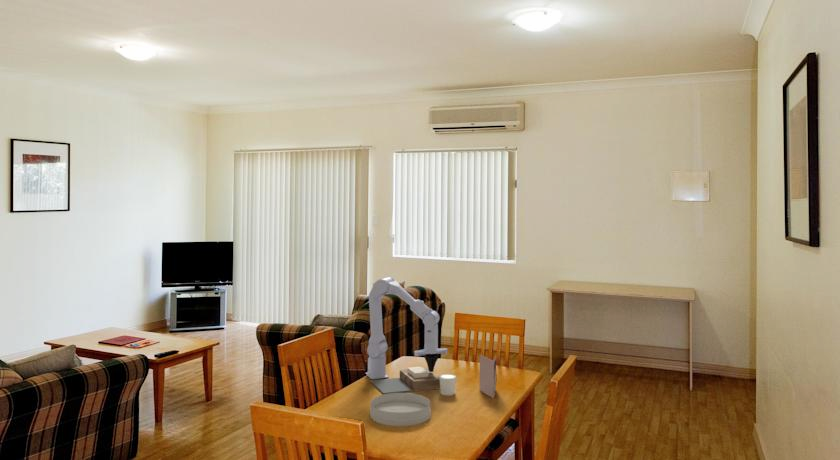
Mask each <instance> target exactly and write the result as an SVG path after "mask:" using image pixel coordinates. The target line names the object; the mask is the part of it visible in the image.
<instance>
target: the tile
mask: <svg viewBox="0 0 840 460" xmlns="http://www.w3.org/2000/svg"><path fill="white" fill-rule="evenodd" d="M423 368H424V367H422V366H421V365H420V366H413V367H412V366H410V367H407V369H408V373H409V374H410V375H412V376H413V377H414V378H420V377H428V371H426V370H425V369H423Z"/></svg>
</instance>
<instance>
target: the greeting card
mask: <svg viewBox="0 0 840 460" xmlns="http://www.w3.org/2000/svg"><path fill="white" fill-rule="evenodd" d="M497 361H498V358H497V355H495V356H494V359H493V360H492V359H490V358H489V357H486V356H484V355H483V354H479V385H478V386H479V387H478V388H479V389H478V391H480V392H481V391H482V393H483V394H485V395H487V396H488V397H490V398H492V399H495V395H496V391H497V383H498V381H497V379H498V377H497V376H498V375H497Z"/></svg>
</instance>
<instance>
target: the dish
mask: <svg viewBox="0 0 840 460" xmlns="http://www.w3.org/2000/svg"><path fill="white" fill-rule="evenodd" d="M431 409H432V408H431V400H430V399H429V398H428V397H427V396H423V395H422V394H417V393H412V392H411V393H410V392H402V393H390V394H384V395H383V394H381V395H378V396H376V397H373V399H372V400H371V401H370V409H369V416H370V419H373V420H372V421H374V422H375V421H376V422H375V423H378V424H380V425H385V426H392V427H409V426H415V425H419V424H422V423H425V422H426V421H428V420H429V419H430V418H431V415H432V414H431V412H432V410H431Z"/></svg>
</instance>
